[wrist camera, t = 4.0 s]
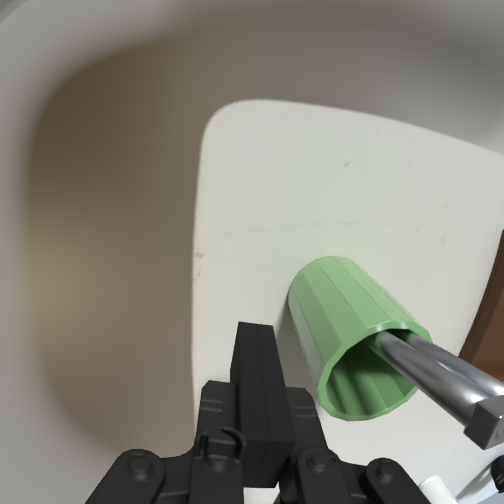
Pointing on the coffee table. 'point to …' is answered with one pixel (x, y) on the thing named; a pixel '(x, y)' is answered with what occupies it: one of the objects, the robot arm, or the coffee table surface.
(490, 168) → the coffee table surface
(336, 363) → the green cup
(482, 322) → the tray
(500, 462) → the controller
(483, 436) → the bolted metal rod
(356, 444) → the coffee table surface
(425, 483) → the cup
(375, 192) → the coffee table surface
